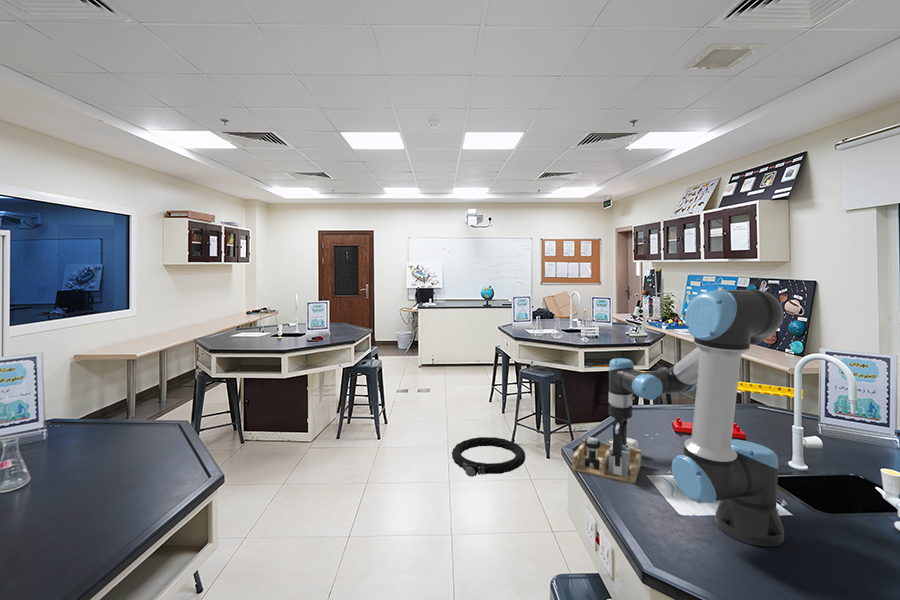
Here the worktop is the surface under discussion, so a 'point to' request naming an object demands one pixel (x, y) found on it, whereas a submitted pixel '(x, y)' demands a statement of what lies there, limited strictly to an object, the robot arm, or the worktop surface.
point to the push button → (592, 453)
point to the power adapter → (629, 443)
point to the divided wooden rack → (606, 463)
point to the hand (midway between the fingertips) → (619, 470)
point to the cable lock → (485, 468)
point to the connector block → (624, 460)
